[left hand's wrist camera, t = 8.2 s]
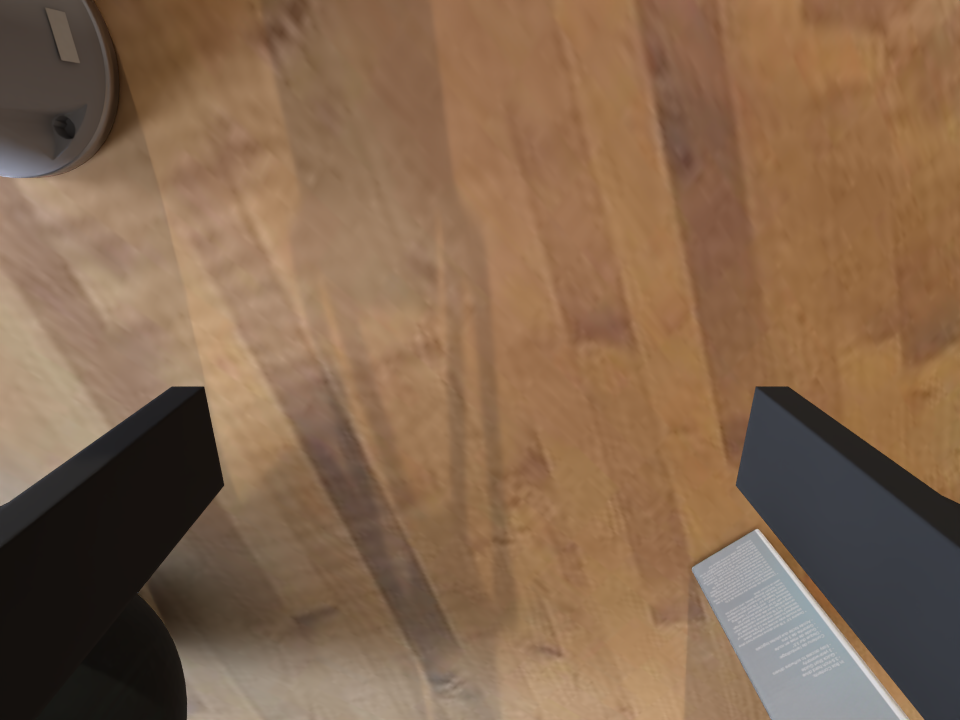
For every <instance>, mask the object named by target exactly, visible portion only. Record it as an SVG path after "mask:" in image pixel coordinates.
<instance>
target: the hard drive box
mask: <svg viewBox="0 0 960 720" xmlns="http://www.w3.org/2000/svg"><path fill="white" fill-rule="evenodd" d="M692 571H693V573H694V575H695V577H696V579H697V581H698V583H699V585H700V587H701V589H702V591H703V592H704V594H705V596H706V598H707V600H708V602H709V604H710V606H711V607H712V609H713V611H714V613H715V615H716V617H717V619H718V621H719V622H720V624H721V626H722V628H723V630H724V632H725V634H726V636H727V638H728V639H729V641H730V643H731V645H732V647H733V649H734V651H735V653H736V654H737V656H738V658H739V660H740V662H741V664H742V666H743V668H744V670H745V671H746V673H747V675H748V677H749V679H750V681H751V683H752V685H753V686H754V688H755V690H756V692H757V694H758V696H759V698H760V700H761V701H762V703H763V705H764V707H765V709H766V711H767V713H768V715H769V717H770V718H771V720H910V719H909V718H908V717H907V715H906V714H905V713H904V712H903V710H902V709H901V708H900V706H899V705H898V704H897V703H896V701H895V700H894V699H893V697H892V696H891V695H890V694H889V692H888V691H887V690H886V688H885V687H884V686H883V685H882V683H881V682H880V681H879V680H878V678H877V677H876V676H875V674H874V673H873V672H872V671H871V669H870V668H869V667H868V665H867V664H866V663H865V662H864V660H863V659H862V658H861V657H860V655H859V654H858V653H857V652H856V650H855V649H854V648H853V646H852V645H851V644H850V643H849V641H848V640H847V639H846V638H845V636H844V635H843V634H842V633H841V631H840V630H839V629H838V628H837V626H836V625H835V624H834V623H833V621H832V620H831V619H830V618H829V616H828V615H827V614H826V612H825V611H824V610H823V609H822V607H821V606H820V605H819V604H818V602H817V601H816V600H815V599H814V597H813V596H812V595H811V594H810V592H809V591H808V590H807V589H806V587H805V586H804V585H803V583H802V582H801V581H800V580H799V578H798V577H797V576H796V575H795V573H794V572H793V571H792V570H791V569H790V567H789V566H788V565H787V564H786V562H785V561H784V560H783V559H782V557H781V556H780V555H779V554H778V552H777V551H776V550H775V549H774V547H773V546H772V545H771V544H770V542H769V541H768V540H767V539H766V537H765V536H764V535H763V534H762V533H761V531H760V530H759V529H756V530H754V531H752V532H750V533H749V534H747V535H745V536H744V537H742V538H740V539H739V540H737V541H735V542H734V543H732V544H730V545H729V546H727V547H725V548H724V549H722V550H720V551H719V552H717V553H715V554H713V555H712V556H710V557H709V558H707V559H705V560H704V561H702V562H700V563H699V564H697V565H695V566H694V567H692Z"/></svg>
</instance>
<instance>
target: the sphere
mask: <svg viewBox="0 0 960 720" xmlns="http://www.w3.org/2000/svg"><path fill="white" fill-rule="evenodd" d="M35 720H187V695H186V685H185V679H184V673H183V669H182V665H181V661H180V658H179V655H178V652H177V649H176V647H175V644H174V642H173V640H172V638H171V636H170V634H169V632H168V630H167V628H166V627H165V625H164V624H163V622H162V621H161V619H160V618H159V617H158V615H157V614H156V613H155V612H154V610H153V609H152V608H151V607H150V606H149V605H148V604H147V603H146V602H145V601H144V600H143V599H142V598H141V597H140V596H138V595H137V594H136V595H135V597H134V598H133V599H132V600H131V602H130V603H129V604H128V605H127V607H126V608H125V609H124V610H123V612H122V613H121V614H120V615H119V617H118V618H117V619H116V620H115V621H114V623H113V624H112V625H111V626H110V628H109V629H108V630H107V631H106V633H105V634H104V635H103V636H102V638H101V639H100V640H99V641H98V643H97V644H96V645H95V646H94V648H93V649H92V650H91V651H90V652H89V654H88V655H87V656H86V657H85V659H84V660H83V661H82V662H81V664H80V665H79V666H78V667H77V669H76V670H75V671H74V672H73V674H72V675H71V676H70V677H69V679H68V680H67V681H66V682H65V684H64V685H63V686H62V687H61V688H60V690H59V691H58V692H57V693H56V695H55V696H54V697H53V698H52V700H51V701H50V702H49V703H48V705H47V706H46V707H45V708H44V710H43V711H42V712H41V713H40V715H39V716H38V717H37V718H36V719H35Z"/></svg>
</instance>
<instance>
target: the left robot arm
mask: <svg viewBox="0 0 960 720" xmlns="http://www.w3.org/2000/svg"><path fill="white" fill-rule="evenodd" d="M118 100H119V73H118V65H117V60H116V55H115V50H114V47H113V43H112V40H111V37H110V34H109V32H108V29H107V26H106V24H105V22H104V20H103V17H102V15H101V13H100V11H99V9H98V8H97V6H96V4H95V2H94V0H0V176H5V177H13V178H38V177H50V176H55V175H59V174H62V173H65V172H68V171H71V170H73V169H75V168H77V167H79V166H80V165H82V164H83V163H85V162H86V161H87V160H88V159H90V158H91V157H92V156H93V155H94V154H95V153H96V152H97V151H98V150H99V148H100V147H101V146H102V144H103V143H104V142H105V140H106V138H107V136H108V134H109V133H110V130H111V128H112V125H113V123H114V119H115V116H116V112H117V106H118ZM223 486H224V482H223V477H222V472H221V467H220V462H219V457H218V452H217V447H216V442H215V438H214V433H213V428H212V423H211V418H210V413H209V408H208V403H207V398H206V393H205V389H204V387H171V388H169V389H168V390H166V391H165V392H164V393H162V394H161V395H159V396H158V397H157V398H155V399H154V400H152V401H151V402H150V403H148V404H147V405H145V406H144V407H142V408H141V409H140V410H138V411H137V412H135V413H134V414H133V415H131V416H130V417H128V418H127V419H126V420H124V421H123V422H121V423H120V424H119V425H117V426H116V427H114V428H113V429H111V430H110V431H109V432H107V433H106V434H104V435H103V436H102V437H100V438H99V439H97V440H96V441H95V442H93V443H92V444H90V445H89V446H87V447H86V448H85V449H83V450H82V451H80V452H79V453H78V454H76V455H75V456H73V457H72V458H71V459H69V460H68V461H66V462H65V463H64V464H62V465H61V466H59V467H58V468H56V469H55V470H54V471H52V472H51V473H49V474H48V475H47V476H45V477H44V478H42V479H41V480H40V481H38V482H37V483H35V484H34V485H33V486H31V487H30V488H28V489H27V490H25V491H24V492H23V493H21V494H20V495H18V496H17V497H16V498H14V499H13V500H11V501H10V502H8V503H6V504H4V505H2V506H0V720H35V719H36V718H37V717H38V716H39V715H40V713H41V712H42V711H43V710H44V708H45V707H46V706H47V705H48V703H49V702H50V701H51V700H52V698H53V697H54V696H55V695H56V693H57V692H58V691H59V690H60V688H61V687H62V686H63V685H64V684H65V682H66V681H67V680H68V679H69V677H70V676H71V675H72V674H73V672H74V671H75V670H76V669H77V667H78V666H79V665H80V664H81V662H82V661H83V660H84V659H85V657H86V656H87V655H88V654H89V652H90V651H91V650H92V649H93V648H94V646H95V645H96V644H97V643H98V641H99V640H100V639H101V638H102V636H103V635H104V634H105V633H106V631H107V630H108V629H109V628H110V626H111V625H112V624H113V623H114V621H115V620H116V619H117V618H118V617H119V615H120V614H121V613H122V612H123V610H124V609H125V608H126V607H127V605H128V604H129V603H130V602H131V600H132V599H133V598H134V597H135V595H136V594H137V593H138V592H139V590H140V589H141V588H142V587H143V586H144V584H145V583H146V582H147V581H148V579H149V578H150V577H151V576H152V574H153V573H154V572H155V571H156V569H157V568H158V567H159V566H160V564H161V563H162V562H163V561H164V559H165V558H166V557H167V556H168V554H169V553H170V552H171V551H172V550H173V548H174V547H175V546H176V545H177V543H178V542H179V541H180V540H181V538H182V537H183V536H184V535H185V533H186V532H187V531H188V530H189V528H190V527H191V526H192V525H193V523H194V522H195V521H196V520H197V519H198V517H199V516H200V515H201V514H202V512H203V511H204V510H205V509H206V507H207V506H208V505H209V504H210V502H211V501H212V500H213V499H214V497H215V496H216V495H217V494H218V492H219V491H220V490H221V489H222V488H223ZM736 486H737V488H738V489H739V490H740V491H741V492H742V494H743V495H744V496H745V497H746V499H747V500H748V501H749V502H750V504H751V505H752V506H753V507H754V509H755V510H756V511H757V512H758V514H759V515H760V516H761V517H762V519H763V520H764V521H765V522H766V523H767V525H768V526H769V527H770V528H771V530H772V531H773V532H774V533H775V535H776V536H777V537H778V538H779V540H780V541H781V542H782V543H783V545H784V546H785V547H786V548H787V550H788V551H789V552H790V553H791V554H792V556H793V557H794V558H795V559H796V561H797V562H798V563H799V564H800V566H801V567H802V568H803V569H804V571H805V572H806V573H807V574H808V576H809V577H810V578H811V579H812V581H813V582H814V583H815V584H816V586H817V587H818V588H819V589H820V590H821V592H822V593H823V594H824V595H825V597H826V598H827V599H828V600H829V602H830V603H831V604H832V605H833V607H834V608H835V609H836V610H837V612H838V613H839V614H840V615H841V617H842V618H843V619H844V620H845V621H846V623H847V624H848V625H849V626H850V628H851V629H852V630H853V631H854V633H855V634H856V635H857V636H858V638H859V639H860V640H861V641H862V643H863V644H864V645H865V646H866V648H867V649H868V650H869V651H870V652H871V654H872V655H873V656H874V657H875V659H876V660H877V661H878V662H879V664H880V665H881V666H882V667H883V669H884V670H885V671H886V672H887V674H888V675H889V676H890V677H891V679H892V680H893V681H894V682H895V684H896V685H897V686H898V687H899V688H900V690H901V691H902V692H903V693H904V695H905V696H906V697H907V698H908V700H909V701H910V702H911V703H912V705H913V706H914V707H915V708H916V710H917V711H918V712H919V713H920V715H921V716H922V717H923V718H924V719H925V720H960V504H958V503H956V502H954V501H952V500H950V499H948V498H946V497H944V496H942V495H940V494H939V493H937V492H936V491H935V490H933V489H932V488H930V487H929V486H927V485H926V484H925V483H923V482H922V481H920V480H919V479H918V478H916V477H915V476H913V475H912V474H911V473H909V472H908V471H906V470H905V469H904V468H902V467H901V466H899V465H898V464H896V463H895V462H894V461H892V460H891V459H889V458H888V457H887V456H885V455H884V454H882V453H881V452H880V451H878V450H877V449H875V448H874V447H873V446H871V445H870V444H868V443H867V442H865V441H864V440H863V439H861V438H860V437H858V436H857V435H856V434H854V433H853V432H851V431H850V430H849V429H847V428H846V427H844V426H843V425H841V424H840V423H839V422H837V421H836V420H834V419H833V418H832V417H830V416H829V415H827V414H826V413H825V412H823V411H822V410H820V409H819V408H818V407H816V406H815V405H813V404H812V403H810V402H809V401H808V400H806V399H805V398H803V397H802V396H801V395H799V394H798V393H796V392H795V391H794V390H792V389H791V388H789V387H756V388H755V393H754V398H753V403H752V408H751V413H750V418H749V423H748V428H747V433H746V438H745V442H744V447H743V452H742V457H741V462H740V467H739V472H738V477H737V482H736Z"/></svg>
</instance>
